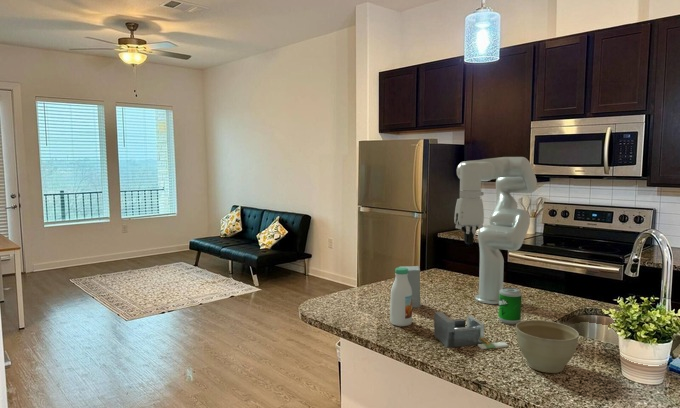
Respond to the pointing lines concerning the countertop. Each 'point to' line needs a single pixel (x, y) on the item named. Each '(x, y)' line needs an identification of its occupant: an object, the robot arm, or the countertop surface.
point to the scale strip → (493, 345)
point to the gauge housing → (453, 331)
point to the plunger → (476, 324)
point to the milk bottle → (401, 299)
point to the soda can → (510, 305)
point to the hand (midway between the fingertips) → (468, 243)
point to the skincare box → (414, 284)
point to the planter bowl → (546, 344)
